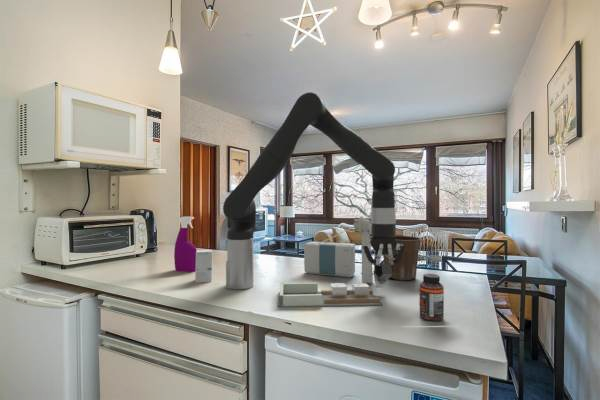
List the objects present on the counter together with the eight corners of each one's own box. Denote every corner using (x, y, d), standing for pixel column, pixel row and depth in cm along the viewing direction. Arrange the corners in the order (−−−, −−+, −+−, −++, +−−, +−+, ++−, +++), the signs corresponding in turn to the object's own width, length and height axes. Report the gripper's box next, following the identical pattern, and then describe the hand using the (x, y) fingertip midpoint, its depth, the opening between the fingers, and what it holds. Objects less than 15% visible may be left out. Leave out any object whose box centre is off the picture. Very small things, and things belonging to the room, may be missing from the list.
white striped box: (303, 274, 133) (303, 227, 133) (310, 270, 140) (310, 225, 140) (352, 279, 125) (352, 228, 125) (356, 274, 132) (356, 227, 132)
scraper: (375, 287, 104) (383, 277, 95) (372, 271, 107) (380, 259, 98) (383, 287, 105) (393, 277, 95) (381, 271, 108) (390, 259, 98)
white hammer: (371, 285, 115) (370, 217, 115) (353, 283, 118) (353, 216, 118) (374, 282, 120) (374, 216, 120) (357, 280, 123) (357, 216, 123)
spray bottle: (177, 271, 139) (177, 216, 139) (198, 272, 136) (198, 216, 136) (172, 272, 136) (172, 216, 137) (194, 274, 133) (194, 216, 134)
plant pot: (412, 272, 136) (412, 235, 136) (429, 282, 120) (428, 239, 120) (375, 272, 136) (375, 235, 136) (386, 282, 119) (386, 240, 119)
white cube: (332, 300, 97) (332, 287, 97) (330, 295, 102) (330, 283, 102) (346, 299, 97) (346, 286, 97) (344, 295, 102) (344, 283, 102)
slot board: (277, 307, 92) (277, 302, 92) (278, 293, 106) (278, 289, 106) (382, 305, 93) (382, 300, 93) (370, 291, 107) (370, 287, 107)
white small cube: (354, 299, 97) (354, 286, 97) (351, 295, 102) (351, 282, 102) (369, 299, 98) (369, 286, 98) (365, 295, 102) (365, 282, 102)
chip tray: (279, 306, 92) (279, 295, 92) (280, 292, 106) (280, 283, 106) (322, 305, 92) (322, 295, 92) (317, 291, 106) (317, 282, 106)
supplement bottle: (415, 313, 86) (415, 272, 86) (436, 313, 87) (436, 272, 87) (426, 322, 80) (425, 278, 80) (448, 321, 81) (448, 277, 81)
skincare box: (195, 284, 117) (194, 252, 117) (196, 281, 122) (196, 250, 122) (212, 283, 119) (212, 251, 119) (212, 280, 123) (212, 249, 123)
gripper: (364, 223, 96) (364, 279, 96) (409, 222, 97) (409, 278, 97) (358, 221, 104) (359, 273, 104) (400, 221, 104) (401, 273, 104)
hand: (383, 276), depth 100 cm, fingers closed on scraper, 3 cm apart
